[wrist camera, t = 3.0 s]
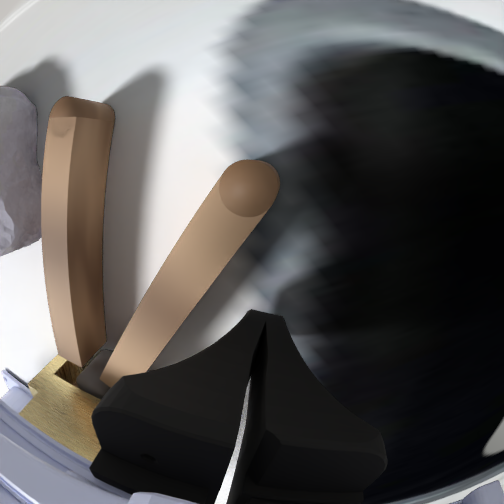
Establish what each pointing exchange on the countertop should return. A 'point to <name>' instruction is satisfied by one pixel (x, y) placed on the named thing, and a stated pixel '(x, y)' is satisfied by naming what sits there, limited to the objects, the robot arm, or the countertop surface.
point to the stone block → (18, 172)
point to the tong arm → (194, 264)
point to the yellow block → (63, 408)
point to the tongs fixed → (76, 232)
